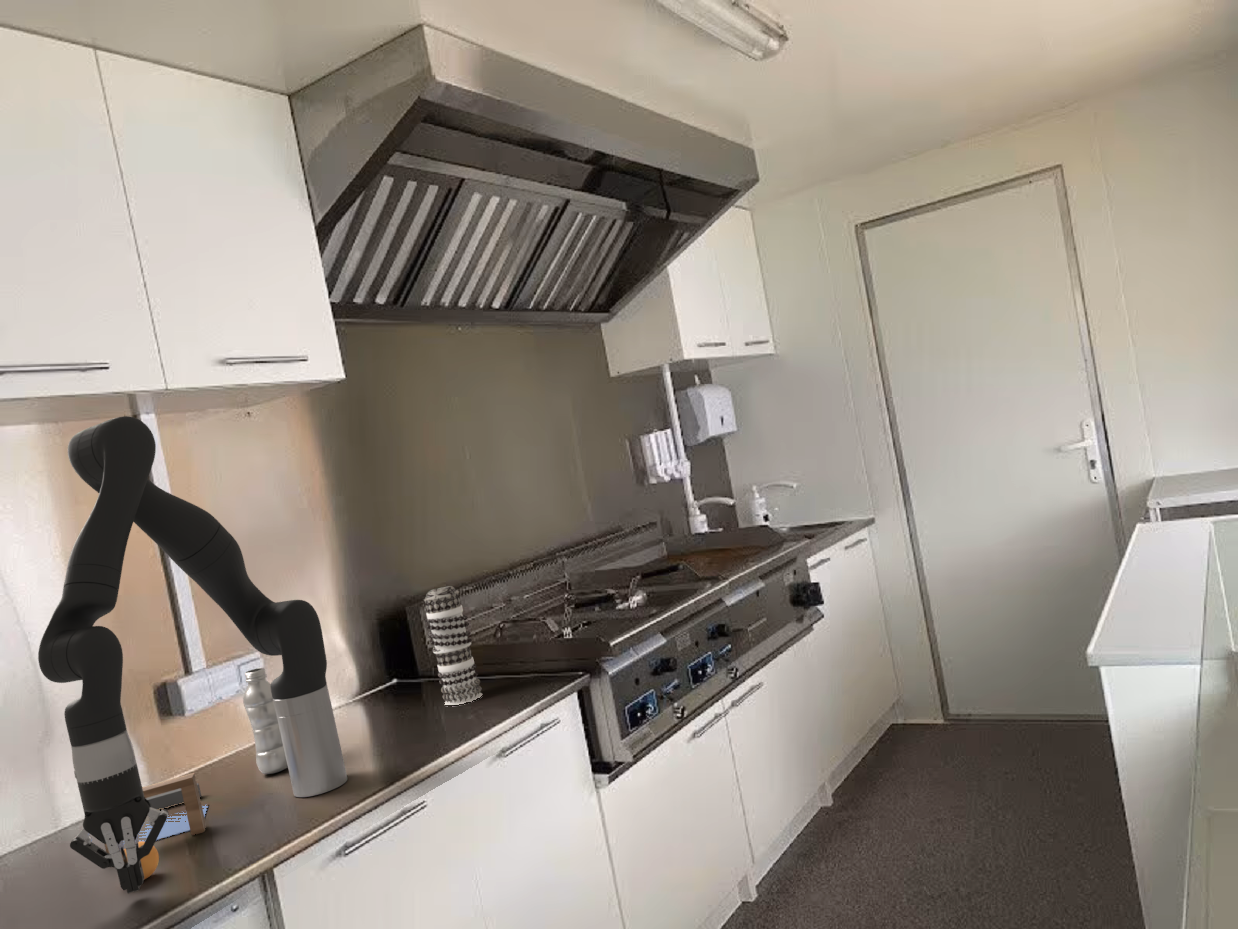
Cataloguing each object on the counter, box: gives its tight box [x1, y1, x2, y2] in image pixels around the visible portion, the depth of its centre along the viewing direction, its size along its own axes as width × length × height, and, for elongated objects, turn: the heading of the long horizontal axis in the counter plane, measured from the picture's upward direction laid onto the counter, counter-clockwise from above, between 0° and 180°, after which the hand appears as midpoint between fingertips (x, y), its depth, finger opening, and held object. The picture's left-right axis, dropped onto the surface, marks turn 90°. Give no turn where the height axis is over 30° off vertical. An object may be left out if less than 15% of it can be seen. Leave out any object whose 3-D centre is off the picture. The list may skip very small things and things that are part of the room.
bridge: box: [104, 772, 207, 854], centre depth 162 cm, size 3×14×9 cm, turn 108°
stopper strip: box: [146, 782, 202, 809], centre depth 182 cm, size 2×9×2 cm, turn 108°
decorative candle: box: [422, 585, 483, 706], centre depth 217 cm, size 9×9×25 cm
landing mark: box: [123, 804, 209, 842], centre depth 169 cm, size 13×13×1 cm
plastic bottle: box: [242, 667, 288, 775], centre depth 190 cm, size 6×7×20 cm
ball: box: [124, 841, 160, 880], centre depth 146 cm, size 6×6×6 cm
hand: (134, 889), depth 138 cm, fingers closed
